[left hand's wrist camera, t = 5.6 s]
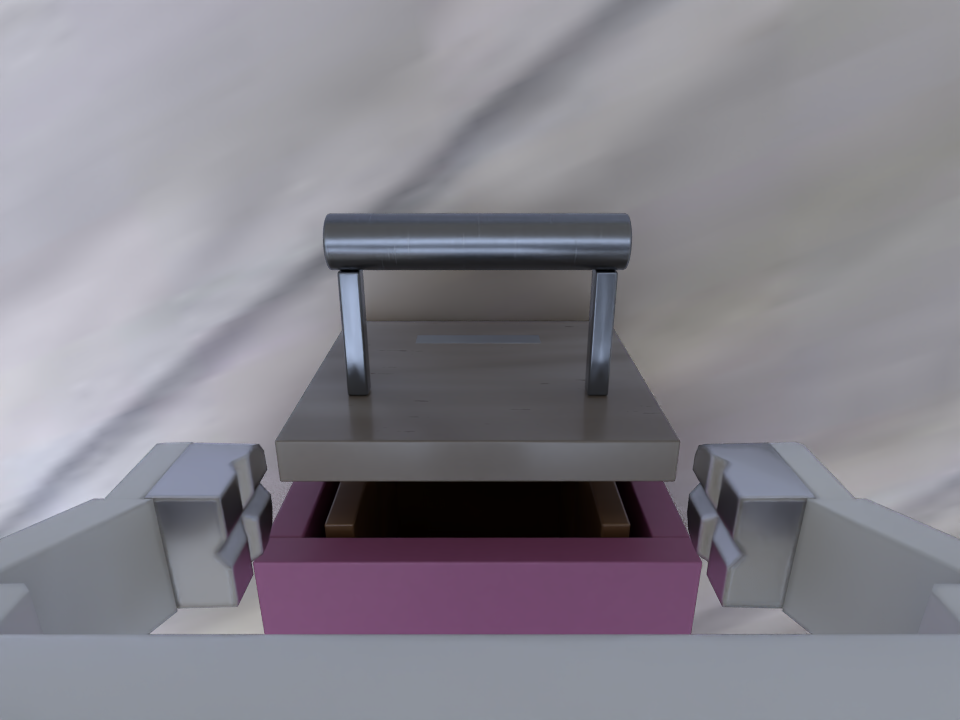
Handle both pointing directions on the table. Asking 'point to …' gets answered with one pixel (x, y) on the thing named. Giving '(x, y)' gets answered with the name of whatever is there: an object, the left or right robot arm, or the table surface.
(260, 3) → the table surface
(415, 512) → the drawer
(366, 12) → the table surface
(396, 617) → the pink storage box
